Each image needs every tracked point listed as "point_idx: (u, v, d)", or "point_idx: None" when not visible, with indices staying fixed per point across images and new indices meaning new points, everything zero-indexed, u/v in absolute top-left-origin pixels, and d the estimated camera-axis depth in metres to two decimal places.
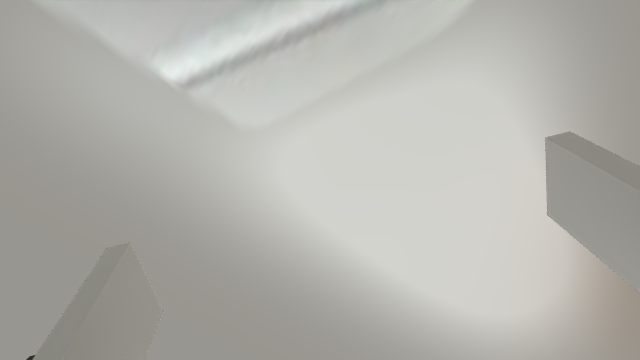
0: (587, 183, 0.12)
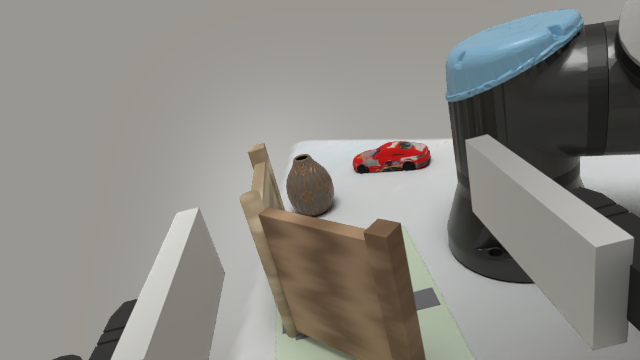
0: (493, 181, 0.13)
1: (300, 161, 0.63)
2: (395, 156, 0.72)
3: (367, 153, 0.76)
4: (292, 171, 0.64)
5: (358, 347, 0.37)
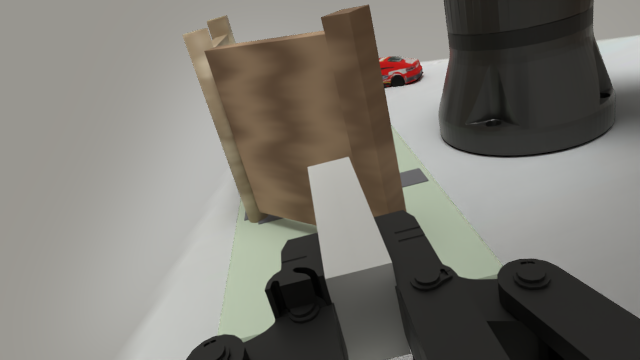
0: None
1: None
2: (383, 70, 0.65)
3: None
4: None
5: None
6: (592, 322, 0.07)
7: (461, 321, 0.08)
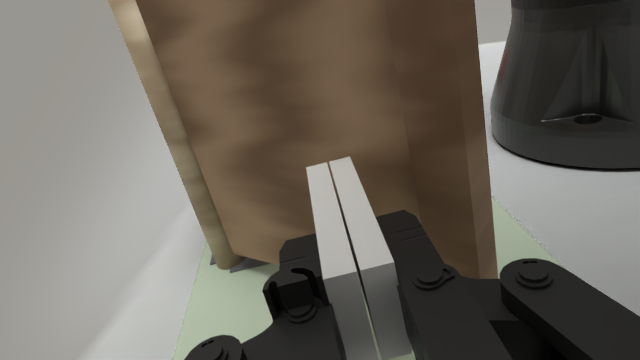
0: None
1: None
2: None
3: None
4: None
5: None
6: (594, 321, 0.07)
7: (463, 321, 0.08)
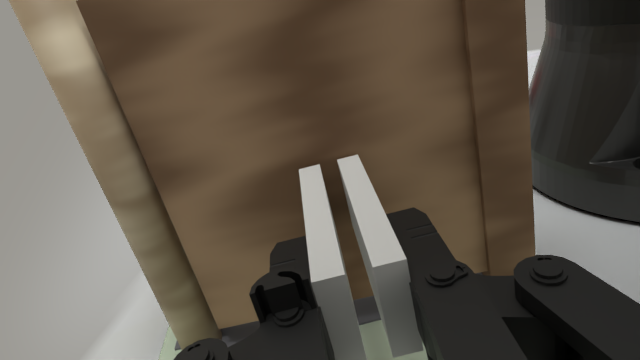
0: (348, 200, 0.14)
1: None
2: None
3: None
4: None
5: None
6: (610, 318, 0.07)
7: (476, 318, 0.08)
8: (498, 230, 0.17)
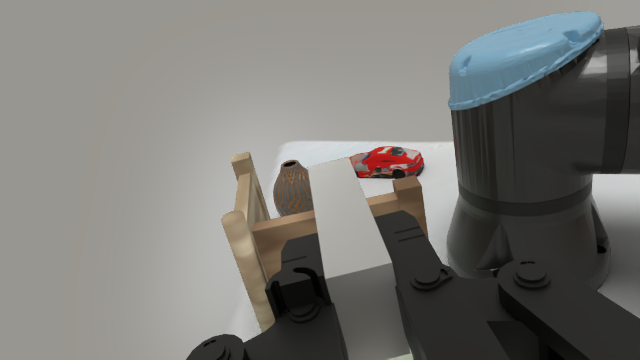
0: None
1: (288, 168, 0.59)
2: (385, 162, 0.68)
3: (358, 156, 0.73)
4: (279, 178, 0.60)
5: None
6: (592, 322, 0.07)
7: (461, 321, 0.08)
8: None
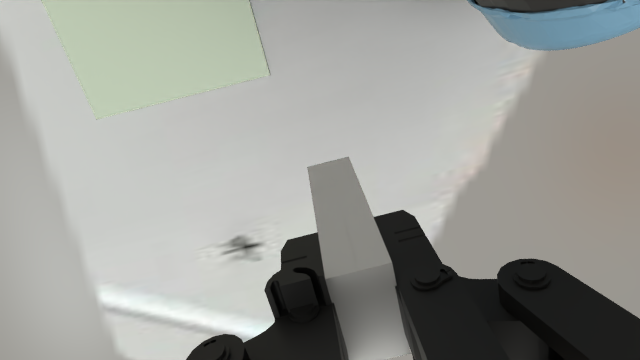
0: None
1: None
2: None
3: None
4: None
5: None
6: (592, 322, 0.07)
7: (461, 321, 0.08)
8: None
